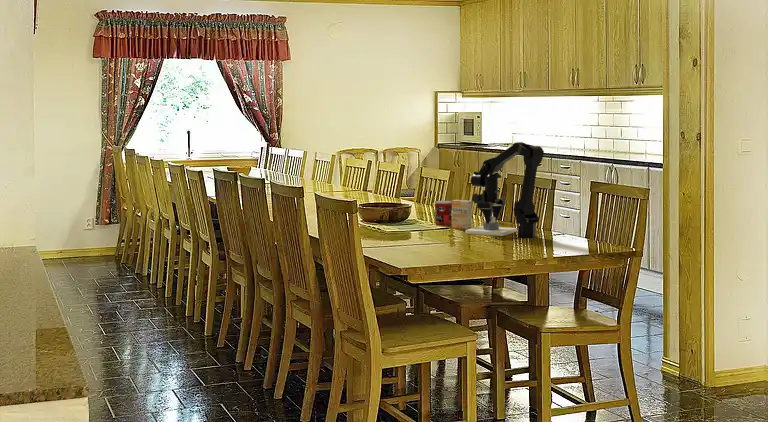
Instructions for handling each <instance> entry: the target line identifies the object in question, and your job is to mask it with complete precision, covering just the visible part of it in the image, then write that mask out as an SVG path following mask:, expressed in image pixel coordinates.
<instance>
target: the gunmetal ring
mask: <svg viewBox="0 0 768 422" xmlns="http://www.w3.org/2000/svg"><path fill="white" fill-rule="evenodd" d="M482 226H483V229H484V230H499V227H500V222H499V221H496V222H495V223H489V224H487V223H486V221H484V222H483V225H482Z"/></svg>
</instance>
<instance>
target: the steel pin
mask: <svg viewBox="0 0 768 422" xmlns="http://www.w3.org/2000/svg"><path fill="white" fill-rule="evenodd" d="M489 223H495V217H493V215H491V219H490V222H489Z"/></svg>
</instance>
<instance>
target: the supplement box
mask: <svg viewBox="0 0 768 422" xmlns="http://www.w3.org/2000/svg"><path fill="white" fill-rule="evenodd" d="M451 202H452V224H451V229H457V230H459V229H460V230H468V229H471V228H472V214H473V213H472V208H473V207H472V206H473V205H472V202H473V201H472V200H465V199H464V200H463V199H453V200H451Z"/></svg>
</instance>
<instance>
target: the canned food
mask: <svg viewBox="0 0 768 422" xmlns="http://www.w3.org/2000/svg"><path fill="white" fill-rule="evenodd" d="M434 223H435V226H450V225H451V226H452V200H437V201H435V203H434Z"/></svg>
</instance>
